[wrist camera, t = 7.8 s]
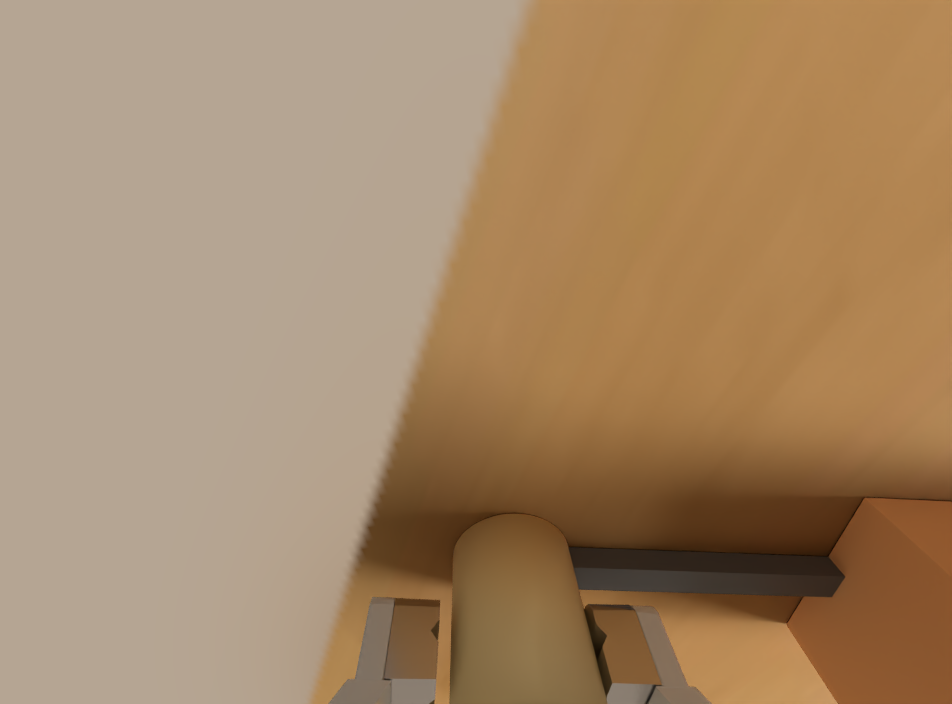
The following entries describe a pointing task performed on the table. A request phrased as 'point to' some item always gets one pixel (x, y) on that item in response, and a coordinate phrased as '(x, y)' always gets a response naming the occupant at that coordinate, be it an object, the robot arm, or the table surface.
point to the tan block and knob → (815, 577)
